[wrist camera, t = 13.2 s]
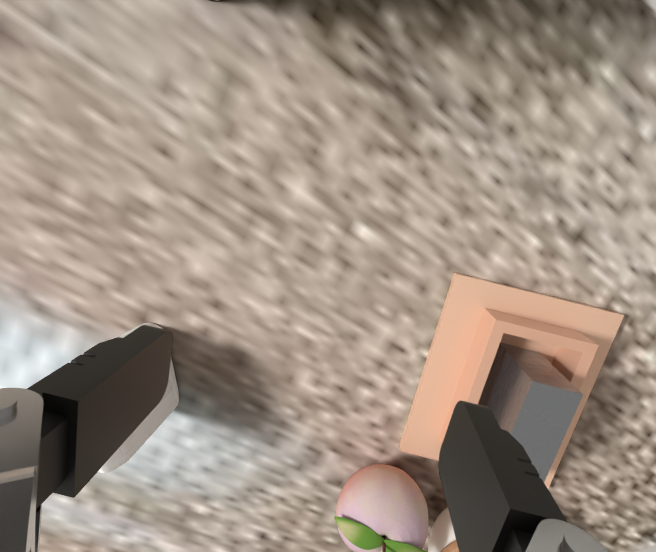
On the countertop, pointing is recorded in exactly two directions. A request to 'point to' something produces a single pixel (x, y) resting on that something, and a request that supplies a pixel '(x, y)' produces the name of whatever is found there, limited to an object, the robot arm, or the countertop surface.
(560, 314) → the caddy
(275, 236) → the countertop surface
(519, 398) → the grey rectangular block
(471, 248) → the countertop surface
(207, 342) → the countertop surface
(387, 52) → the countertop surface
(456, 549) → the lidded jar
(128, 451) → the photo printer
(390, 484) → the decorative fruit
